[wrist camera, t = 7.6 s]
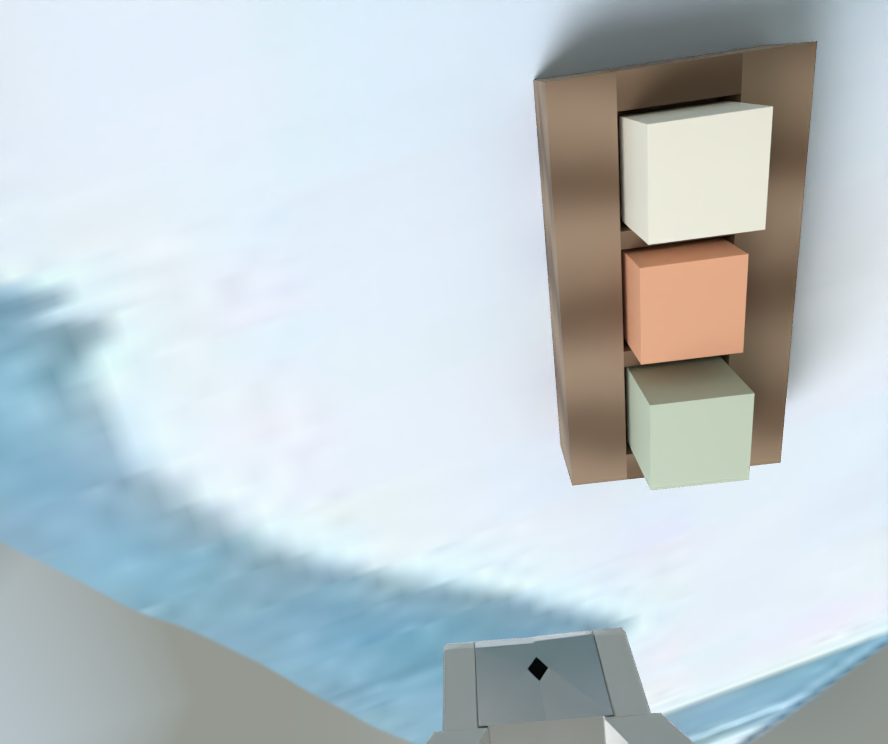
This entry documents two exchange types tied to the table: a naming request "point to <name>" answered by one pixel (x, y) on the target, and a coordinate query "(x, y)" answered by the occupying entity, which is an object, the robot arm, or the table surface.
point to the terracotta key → (684, 299)
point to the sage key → (689, 422)
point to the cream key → (695, 170)
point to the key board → (604, 236)
